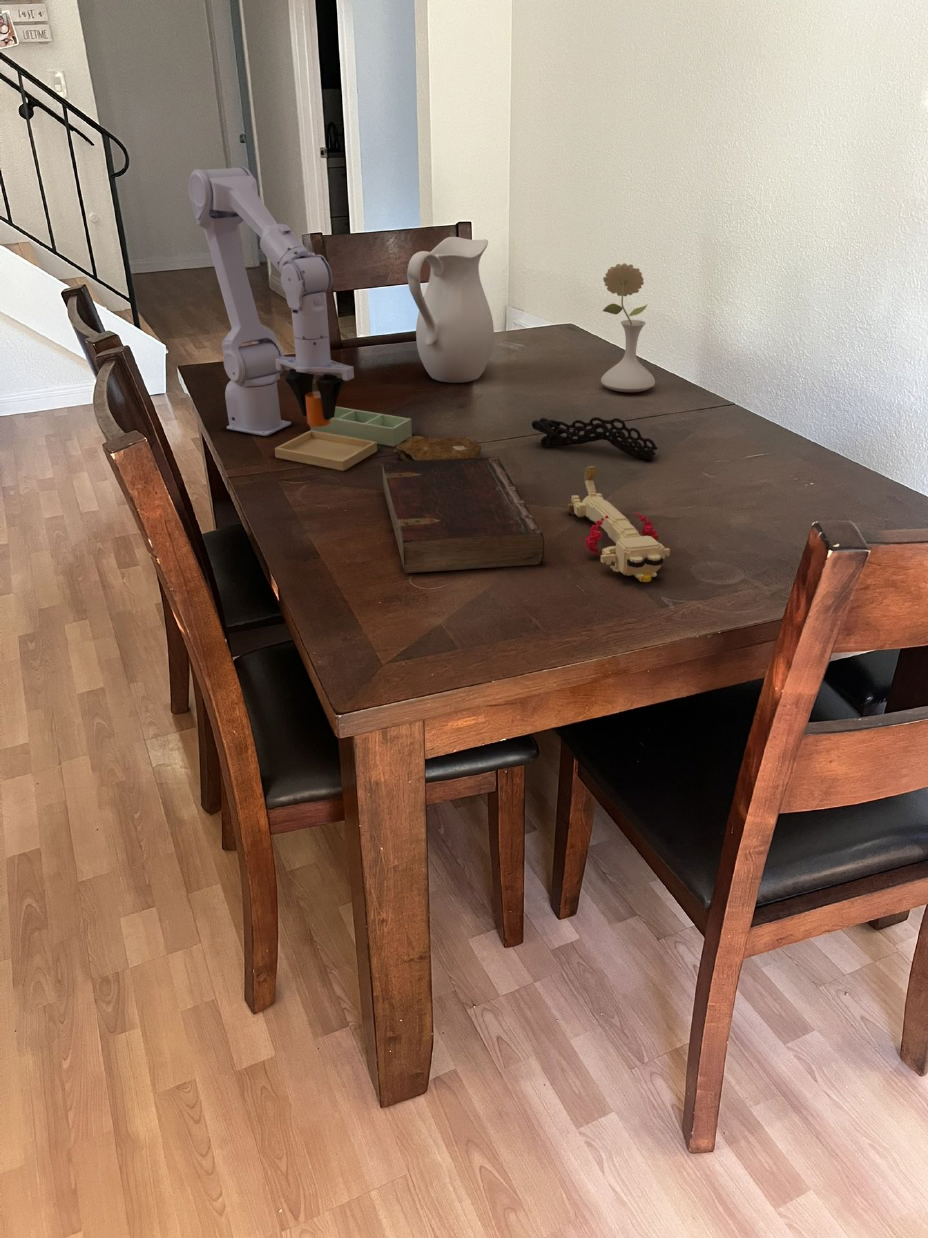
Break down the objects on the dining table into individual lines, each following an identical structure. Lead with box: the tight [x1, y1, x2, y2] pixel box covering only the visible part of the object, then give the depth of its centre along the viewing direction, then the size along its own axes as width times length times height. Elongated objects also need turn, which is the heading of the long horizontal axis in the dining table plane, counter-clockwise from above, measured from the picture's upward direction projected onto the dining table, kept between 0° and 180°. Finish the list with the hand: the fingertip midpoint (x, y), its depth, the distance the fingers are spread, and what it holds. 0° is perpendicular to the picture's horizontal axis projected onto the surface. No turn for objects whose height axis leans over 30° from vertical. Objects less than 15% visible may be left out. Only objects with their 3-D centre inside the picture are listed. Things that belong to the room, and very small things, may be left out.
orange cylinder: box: [305, 390, 331, 427], centre depth 154 cm, size 4×4×5 cm
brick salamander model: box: [566, 465, 671, 583], centre depth 123 cm, size 10×9×25 cm
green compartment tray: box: [309, 405, 413, 447], centre depth 166 cm, size 18×6×3 cm, turn 63°
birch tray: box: [274, 430, 378, 472], centre depth 157 cm, size 14×11×2 cm
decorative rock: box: [393, 435, 483, 461], centre depth 153 cm, size 11×4×15 cm
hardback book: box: [381, 456, 545, 574], centre depth 131 cm, size 29×19×5 cm, turn 10°
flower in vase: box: [600, 262, 656, 393], centre depth 185 cm, size 13×11×25 cm
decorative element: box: [531, 416, 658, 461], centre depth 157 cm, size 22×5×6 cm, turn 66°
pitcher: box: [406, 236, 495, 384], centre depth 190 cm, size 24×17×28 cm
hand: (318, 416), depth 154 cm, fingers closed on orange cylinder, 4 cm apart
